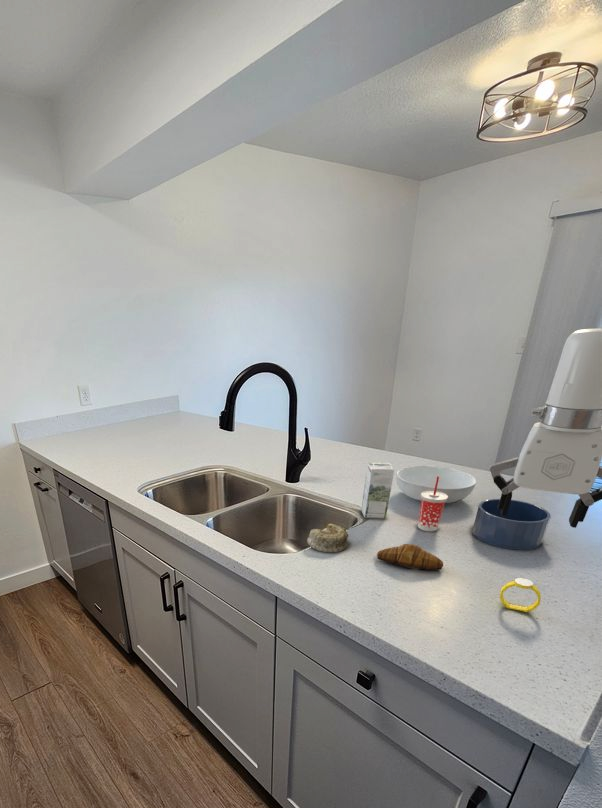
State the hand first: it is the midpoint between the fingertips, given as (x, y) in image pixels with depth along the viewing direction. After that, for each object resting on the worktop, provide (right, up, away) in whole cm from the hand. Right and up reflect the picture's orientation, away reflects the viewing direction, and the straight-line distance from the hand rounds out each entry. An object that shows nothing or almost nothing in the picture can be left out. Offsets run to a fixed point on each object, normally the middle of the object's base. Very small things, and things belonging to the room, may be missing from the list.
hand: (536, 518), depth 74 cm
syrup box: (-9, +3, +47) cm, 48 cm away
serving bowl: (+12, +9, +56) cm, 58 cm away
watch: (+2, -17, +7) cm, 18 cm away
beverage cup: (+2, -1, +39) cm, 39 cm away
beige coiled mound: (-26, -5, +34) cm, 43 cm away
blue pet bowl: (+18, -3, +32) cm, 37 cm away
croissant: (-11, -9, +23) cm, 27 cm away
